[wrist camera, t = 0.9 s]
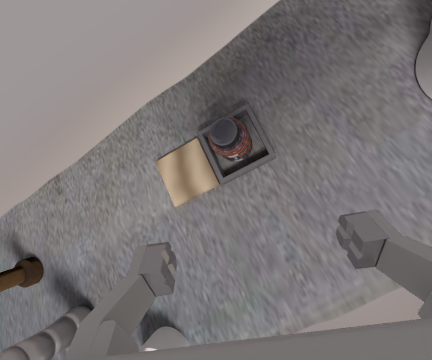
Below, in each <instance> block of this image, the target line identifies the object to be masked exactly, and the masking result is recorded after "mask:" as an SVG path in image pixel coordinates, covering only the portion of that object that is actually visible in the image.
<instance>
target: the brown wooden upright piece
mask: <svg viewBox="0 0 432 360" xmlns="http://www.w3.org/2000/svg"><path fill="white" fill-rule="evenodd" d="M42 276H43V266H42V264H41V262H40V261H39V260H38V259H37V258H35V257H30V258H27V259H24V260H21V261H19V262H18V263H17V264H16V265H15V267H14V268H13V269H10V270H7V271H4V272H1V273H0V292H1V291H3V290H6V289H9V288H11V287H14V286H16V285H19V286H21V287H29V286H31V285H33V284H36V283H38V282H39V281H40V280H41V279H42Z"/></svg>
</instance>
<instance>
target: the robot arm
mask: <svg viewBox="0 0 432 360" xmlns="http://www.w3.org/2000/svg"><path fill="white" fill-rule="evenodd" d="M416 76H417V80H418V82H419V85H420V86H421V88H422V90H423V91H424V92H425V93H426V95H427V96H428V97H430V98H431V99H432V20H431V25H430V33H429V35H428V37H427V39H426V41H425V42H424V44H423V45H422V47H421V49H420V51H419V53H418V56H417V60H416ZM338 222H339V223H340V226H338V227H337V231H336V235H337V239H338V242H339V244H340V245H341V247H342V248H343V249H345V250H346V251H348V255H347V257H348V258H349V260H350V261H351V263H352V264H353V266H354V267H355V269H361V268H370V267H376V268H377V269H378V270H380V271H381V272H382V273H384V274H385V275H387V276H388V277H390V278H391V279H392V280H394V281H395V282H397V283H398V284H399V285H401V286H402V287H404V288H405V289H407V290H408V291H409V292H411V293H412V294H414V295H415V296H417V297H418V298H419V299H421V300H422V301H424V304H423V305H422V307H421V308H420V310H419V312H418V315H419V316H420V317H421V319H417V320H409V321H401V322H392V323H383V324H375V325H366V326H358V327H349V328H341V329H332V330H324V331H316V332H307V333H298V334H289V335H280V336H272V337H263V338H255V339H246V340H238V341H229V342H221V343H212V344H204V345H195V346H187V347H178V348H170V349H161V350H153V351H144V352H138V351H139V346H138V344H137V343H136V342H135V341H134V340H133V339H132V338H131V336H132V334H133V332H134V331H135V329H136V328H137V326H138V325H139V323H140V322H141V320H142V318H143V317H144V315H145V314H146V312H147V311H148V309H149V308H150V306H151V305H152V303H153V301H154V300H155V298H156V297H157V296H163V295H169V294H173V291H174V283H175V280H174V277H173V275H174V274H175V272H176V267H177V264H176V257H175V254H174V252H172V251H171V245H170V243H169V242H164V243H157V244H149V245H142V246H138V247H137V248H136V250H135V253H134V256H133V259H132V262H131V265H130V268H129V271H128V274H127V277H123V278H122V279H121V280H120V282H119V283H118V284H117V285H116V286H115V287H114V288H113V289H112V290H111V291H110V292H109V293H108V294H107V295H106V296H105V297H104V298H103V299H102V301H101V302H100V303H99V304H98V305H97V306H96V307H95V308H94V309H93V310H92V311H91V312H90V313H89V314H88V315H87V316H86V317H85V318H84V320H83V321H82V322H81V323H80V324H79V327H78V329H77V331H76V333H75V336H74V338H73V340H72V342H71V345H70V347H69V349H68V351H67V354H66V356H65V358H64V360H432V247H430V246H428V245H425V244H423V243H421V242H419V241H416V240H414V239H412V238H410V237H408V236H406V237H403V236H402V235H401V234H400V233H399V232H398V231H397V230H396V229H395V228H394V227H393V226H392V225H391V224H390V223H389V222H388V221H387V220H386V219H385V218H384V216H383V215H382V214H381V213H380V212H379V211H377V210H370V211H364V212H357V213H351V214H345V215H340V217H339V220H338Z"/></svg>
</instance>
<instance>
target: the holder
mask: <svg viewBox="0 0 432 360" xmlns="http://www.w3.org/2000/svg"><path fill="white" fill-rule="evenodd" d="M246 114H248V115H249V117H250V119H251V121H252V123H253V125H254V126H255V128H256V130H257V132H258V134H259V136H260V138H261V140H262V142H263V144H264V146H265V148H266V149H267V151H268V153H269V155H267V156H265V157H263V158H261V159H259V160H257V161H255V162H253V163H251V164H250V165H248V166H246V167H244V168H242V169H240V170H238V171H236V172H234V173H232V174H230V175H228V176H226V177H225V175H224V173H223V171H222V169H221V167H220V165H219V163H218V160H217V158H216V156H215V154H214V152H213V150H212V148H211V146H210V144H209V142H208V140H207V138H206V137H208V136H209V132H210V127H211V125H212V124H211V125H209V126H208V127H206V128H204V129H202V130H201V131H199V132H197V135H198V137H199V139H200V141H201V143H202V145H203V147H204V149H205V151H206V153H207V156H208V158H209V160H210V162H211V164H212V166H213V168H214V170H215V172H216V174H217V177H218V179H219V181H220V183H221V184H226V183H228V182H230V181H232V180H234V179H236V178H238V177H240V176H242V175H243V174H245V173H247V172H249V171H251V170H253V169H255V168H257V167H259V166H261V165H263V164H265V163H267V162H269V161H271V160H273V159H275V158H276V155H275V153H274V151H273V149H272V147H271V145H270V143H269V142H268V140H267V138H266V136H265V134H264V132H263V130H262V128H261V126H260V124H259V123H258V121H257V119H256V117H255V115H254V113H253V111H252V109H251V107H250V105H249V104H248V103H247V104H245V105H243V106H242V107H240V108H238V109H236V110H235V111H233V112H231V113H230V114H228V115H226V116H225V117H233V118H236V119H239V118H241V117H243V116H244V115H246ZM223 118H224V117H223Z"/></svg>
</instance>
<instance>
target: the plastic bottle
mask: <svg viewBox="0 0 432 360" xmlns="http://www.w3.org/2000/svg"><path fill="white" fill-rule="evenodd" d="M90 312H91V310H90V309H89V308H88V307H85V306H77V307H75V308H72V309H70V310H69V311H67V312H66V313H65V314H63V315H62V316H61V317H60V318H59V319H58V320H56V321H55V322H54V323H52V324H51V325H49V326H48V327H47V328H45V329H43V330H42V331H40V332H39V333H36V334H35V335H33V336H31V337H29V338H27V339H25V340H23V341H21V342H19V343H17V344H15V345H13V346H11V347H9V348H7V349H5V350H3V351H2V352H0V360H51V359H52V358H54V357H55V356H56V355H57V354H58V353H60V352H61V351H63V350H64V349H66V348H67V347H69V346H70V345H71V342H72V340H73V338H74V336H75V333H76V331H77V329H78V327H79V324H80V323H81V322H82V321H83V320H84V318H85V317H86V316H87V315H88V314H89V313H90Z"/></svg>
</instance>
